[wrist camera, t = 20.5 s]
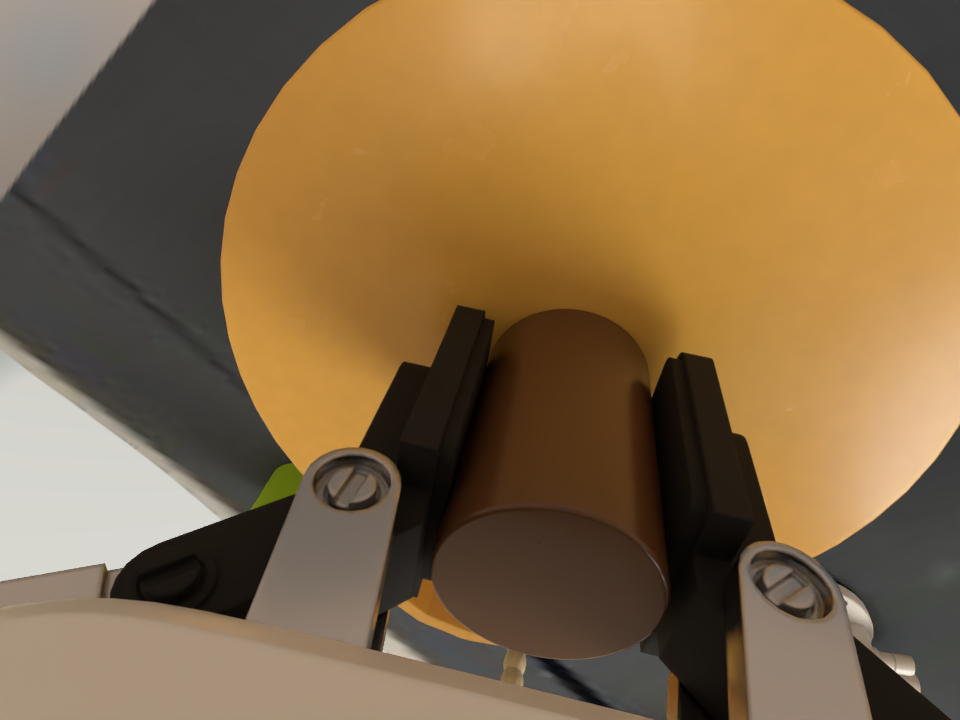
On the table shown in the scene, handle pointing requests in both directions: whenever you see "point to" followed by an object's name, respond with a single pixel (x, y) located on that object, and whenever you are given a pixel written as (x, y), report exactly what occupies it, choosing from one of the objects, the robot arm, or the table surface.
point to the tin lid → (607, 273)
